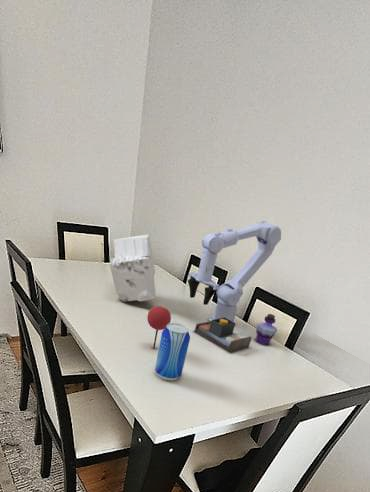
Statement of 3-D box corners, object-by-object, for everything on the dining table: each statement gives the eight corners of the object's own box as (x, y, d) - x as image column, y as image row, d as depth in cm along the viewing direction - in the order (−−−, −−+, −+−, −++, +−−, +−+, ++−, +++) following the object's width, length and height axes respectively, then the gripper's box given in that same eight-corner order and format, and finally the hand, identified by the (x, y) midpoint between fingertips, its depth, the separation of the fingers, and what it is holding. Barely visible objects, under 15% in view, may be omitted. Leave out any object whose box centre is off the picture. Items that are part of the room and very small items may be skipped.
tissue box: (156, 305, 160) (145, 242, 147) (119, 310, 162) (104, 248, 148) (159, 291, 178) (149, 234, 164) (125, 296, 179) (112, 239, 165)
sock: (220, 330, 152) (223, 318, 149) (226, 333, 150) (229, 321, 147) (215, 331, 149) (218, 319, 147) (221, 334, 148) (224, 322, 145)
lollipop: (167, 347, 135) (175, 307, 127) (159, 355, 129) (167, 313, 121) (147, 341, 136) (154, 300, 129) (139, 348, 130) (145, 306, 122)
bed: (213, 327, 161) (216, 317, 158) (248, 347, 151) (252, 337, 149) (194, 331, 153) (196, 321, 150) (229, 352, 143) (233, 342, 141)
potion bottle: (255, 335, 163) (264, 309, 157) (274, 342, 161) (284, 316, 155) (249, 341, 156) (258, 314, 150) (269, 349, 154) (279, 321, 148)
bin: (221, 329, 154) (224, 317, 151) (232, 334, 151) (235, 323, 149) (208, 331, 149) (211, 319, 146) (219, 337, 146) (222, 325, 143)
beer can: (153, 366, 122) (162, 319, 113) (179, 370, 123) (190, 324, 115) (154, 380, 115) (164, 331, 106) (181, 383, 116) (193, 335, 108)
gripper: (186, 261, 150) (179, 295, 157) (213, 274, 143) (205, 308, 150) (198, 261, 155) (191, 293, 162) (225, 273, 147) (216, 306, 155)
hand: (198, 300), depth 156 cm, fingers open, 7 cm apart
